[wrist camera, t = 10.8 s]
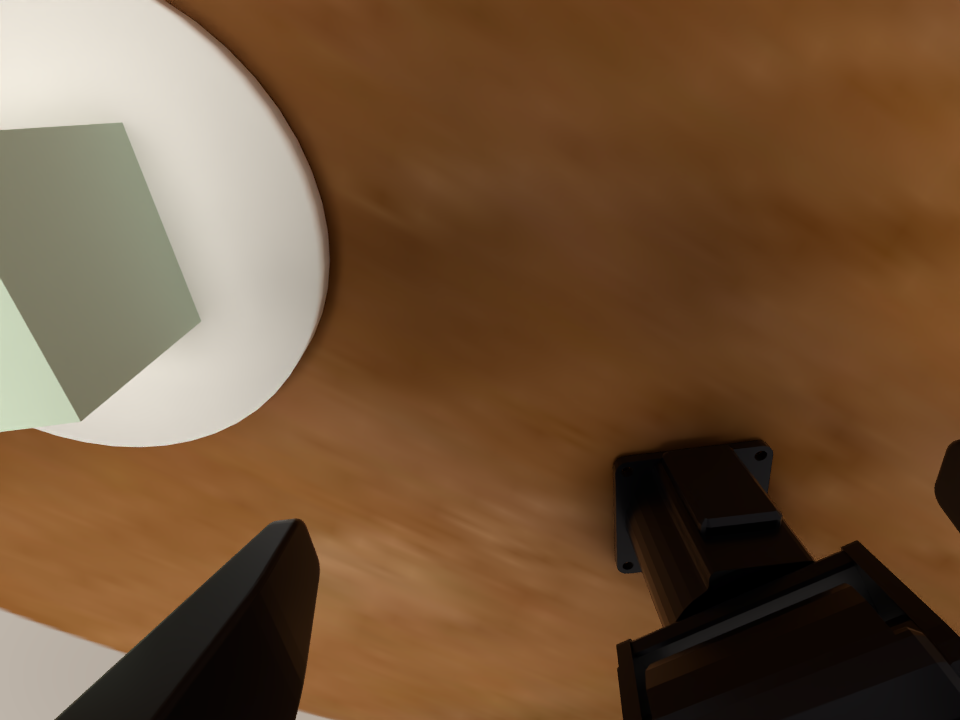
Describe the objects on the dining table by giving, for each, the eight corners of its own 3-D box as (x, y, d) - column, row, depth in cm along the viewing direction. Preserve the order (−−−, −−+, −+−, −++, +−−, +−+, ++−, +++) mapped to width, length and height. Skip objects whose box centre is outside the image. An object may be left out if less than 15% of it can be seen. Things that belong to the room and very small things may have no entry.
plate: (373, 399, 20) (366, 420, 19) (4, 445, 21) (-28, 469, 20) (246, -90, 14) (222, -110, 12) (-290, -2, 14) (-369, -13, 13)
